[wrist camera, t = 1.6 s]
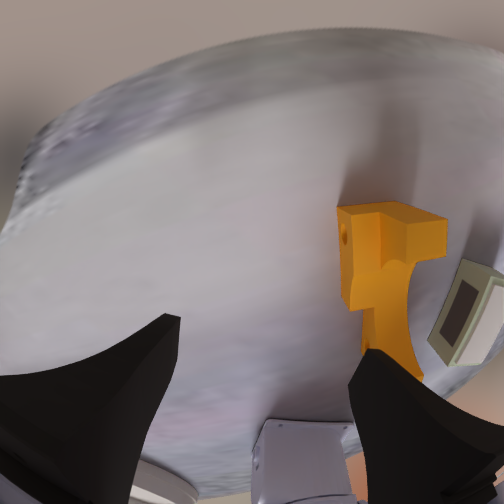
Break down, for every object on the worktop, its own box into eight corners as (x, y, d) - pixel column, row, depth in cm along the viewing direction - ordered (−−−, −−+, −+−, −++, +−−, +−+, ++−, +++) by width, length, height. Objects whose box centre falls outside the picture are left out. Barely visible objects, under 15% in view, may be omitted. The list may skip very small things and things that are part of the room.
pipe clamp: (336, 206, 17) (373, 228, 11) (393, 200, 17) (447, 219, 11) (340, 354, 21) (360, 410, 15) (387, 343, 21) (417, 394, 14)
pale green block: (426, 340, 20) (449, 369, 16) (461, 258, 18) (493, 277, 14) (460, 341, 20) (482, 367, 16) (492, 268, 18) (521, 286, 14)
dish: (223, 489, 30) (220, 514, 26) (170, 507, 36) (166, 525, 31) (88, 427, 27) (75, 452, 22) (73, 461, 33) (65, 478, 28)
